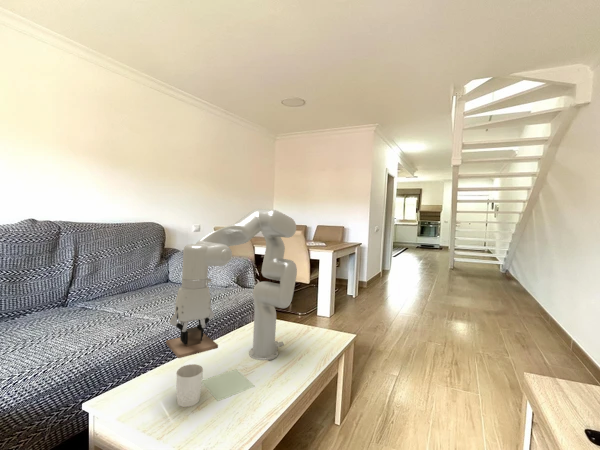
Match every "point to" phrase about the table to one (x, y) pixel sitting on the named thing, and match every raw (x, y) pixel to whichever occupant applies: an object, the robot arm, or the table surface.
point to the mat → (227, 384)
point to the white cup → (189, 385)
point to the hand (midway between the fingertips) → (191, 340)
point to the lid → (191, 344)
